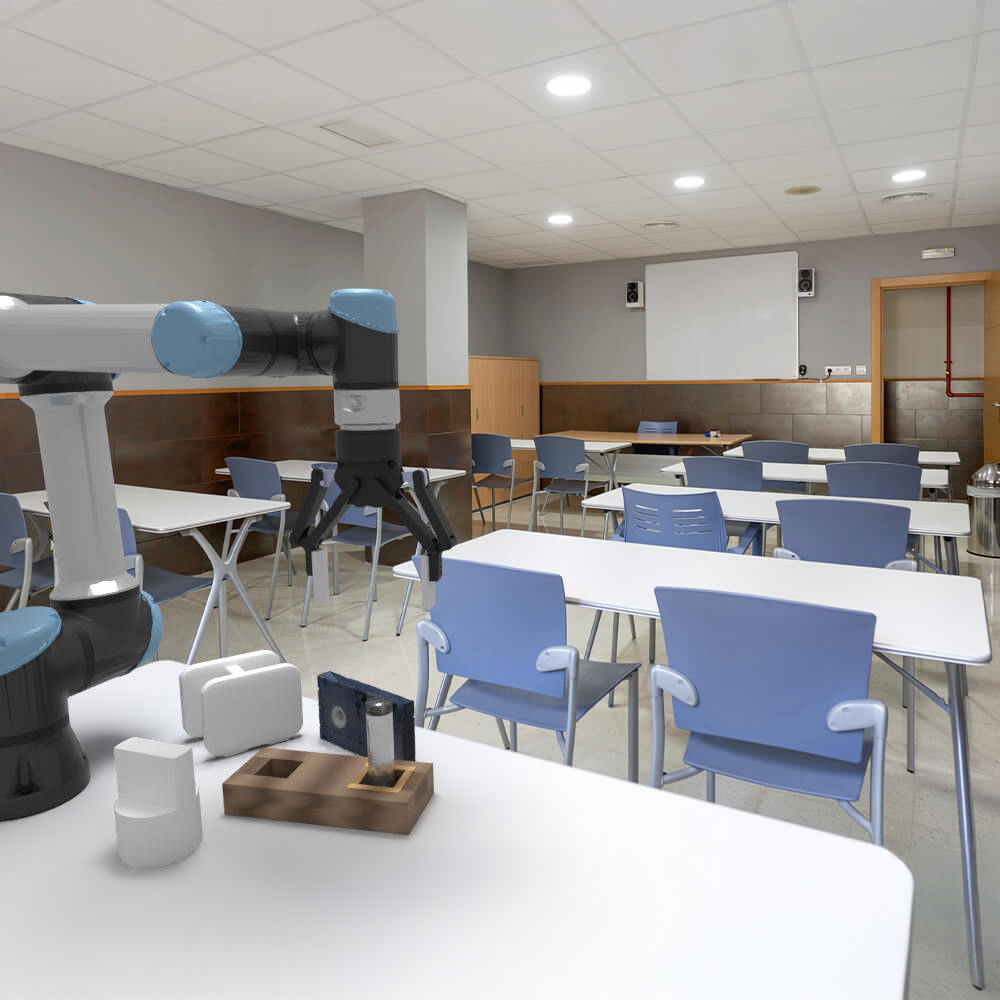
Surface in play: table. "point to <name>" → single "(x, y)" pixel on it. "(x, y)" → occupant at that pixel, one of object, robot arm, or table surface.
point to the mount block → (327, 791)
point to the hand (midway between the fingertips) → (374, 605)
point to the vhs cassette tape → (361, 715)
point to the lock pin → (380, 742)
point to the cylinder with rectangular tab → (156, 803)
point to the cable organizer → (241, 702)
